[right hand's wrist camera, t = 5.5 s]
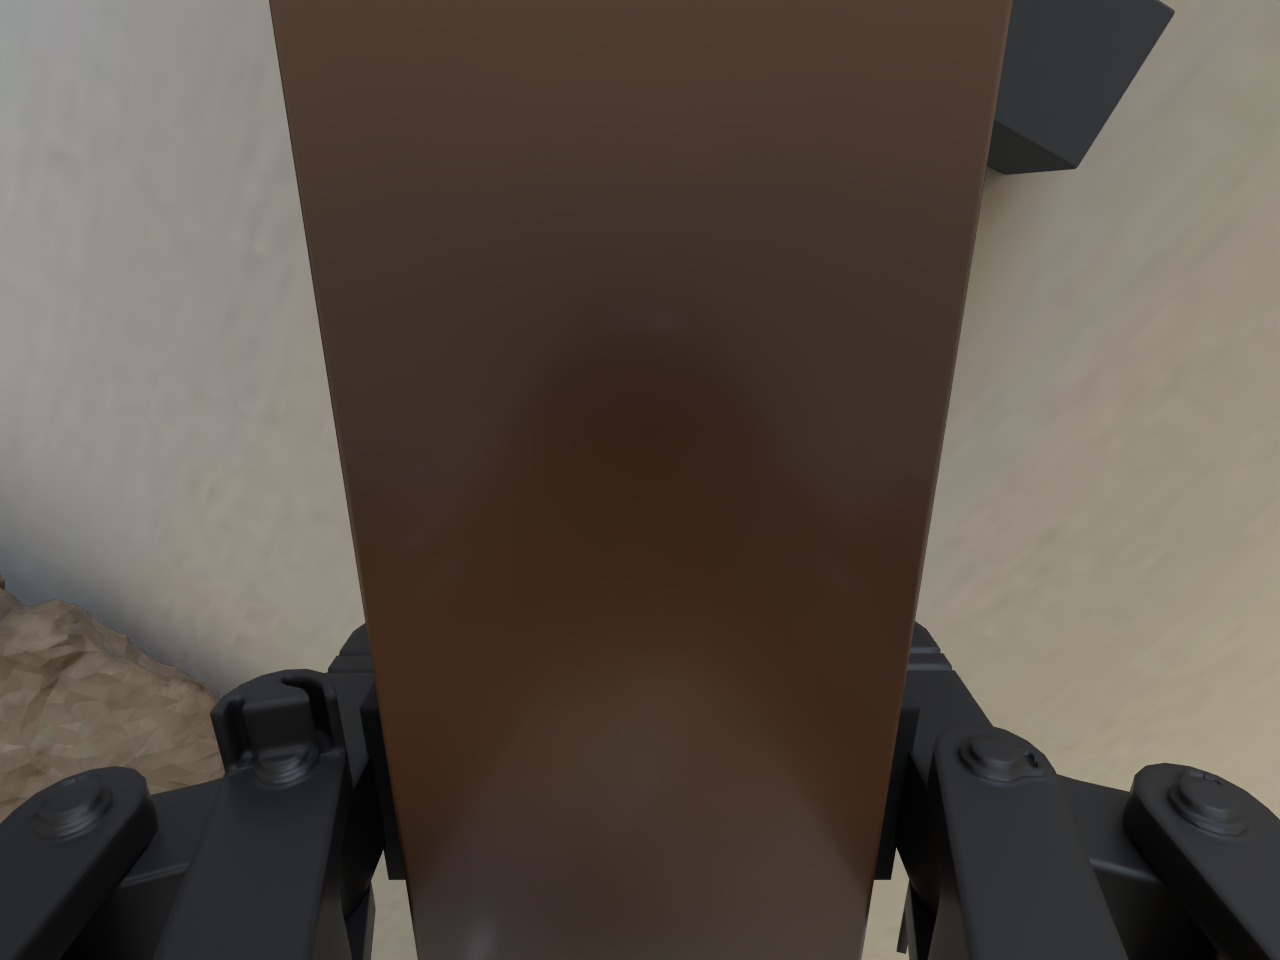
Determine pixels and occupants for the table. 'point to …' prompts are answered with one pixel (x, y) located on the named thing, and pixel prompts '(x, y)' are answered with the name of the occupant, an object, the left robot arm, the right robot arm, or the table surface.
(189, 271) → the table surface
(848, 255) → the walnut bar
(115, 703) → the stone
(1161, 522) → the table surface
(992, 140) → the grey block
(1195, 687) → the table surface
